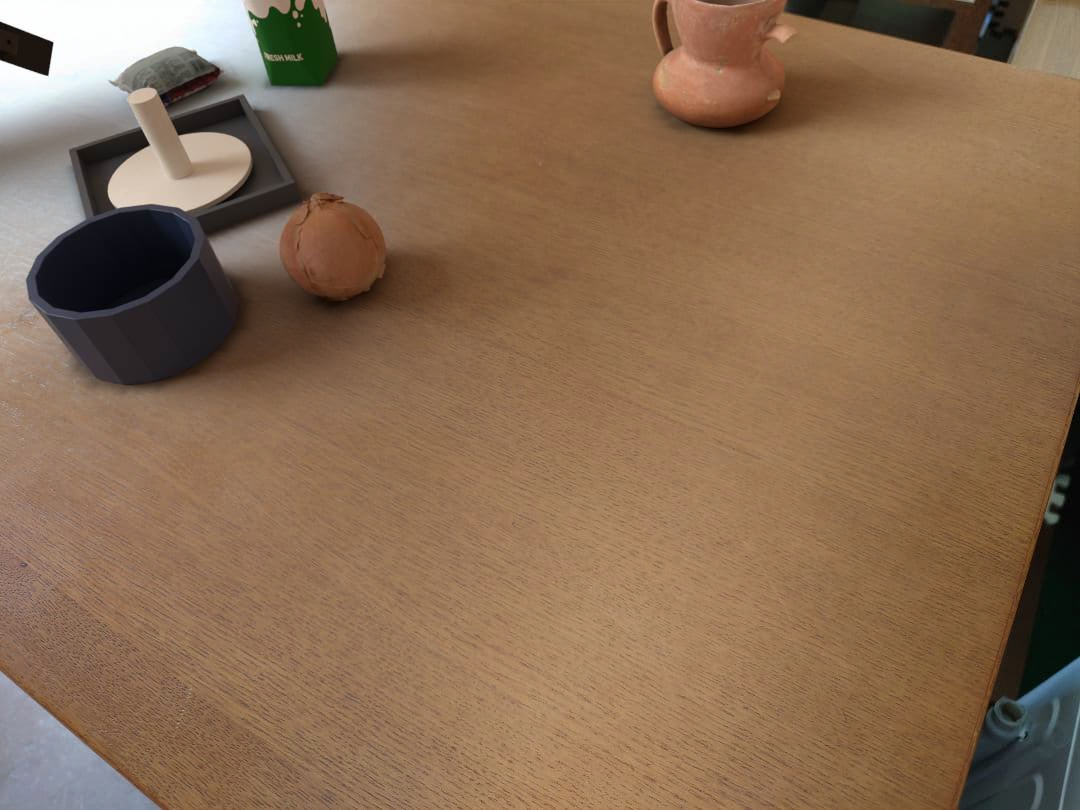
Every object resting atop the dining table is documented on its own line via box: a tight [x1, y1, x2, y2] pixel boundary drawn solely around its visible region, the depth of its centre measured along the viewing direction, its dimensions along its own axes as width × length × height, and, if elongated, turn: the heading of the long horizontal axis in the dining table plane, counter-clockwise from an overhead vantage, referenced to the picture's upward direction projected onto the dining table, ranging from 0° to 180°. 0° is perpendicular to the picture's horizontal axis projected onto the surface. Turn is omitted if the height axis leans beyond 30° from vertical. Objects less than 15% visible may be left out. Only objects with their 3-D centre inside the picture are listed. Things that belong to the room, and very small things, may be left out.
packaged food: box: [107, 46, 225, 108], centre depth 99 cm, size 9×12×5 cm
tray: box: [68, 93, 302, 235], centre depth 86 cm, size 22×21×3 cm
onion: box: [279, 191, 387, 302], centre depth 71 cm, size 10×9×10 cm
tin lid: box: [108, 88, 253, 215], centre depth 83 cm, size 16×16×10 cm
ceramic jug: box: [651, 0, 798, 129], centre depth 84 cm, size 18×14×14 cm
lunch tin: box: [25, 204, 240, 385], centre depth 69 cm, size 15×15×8 cm
